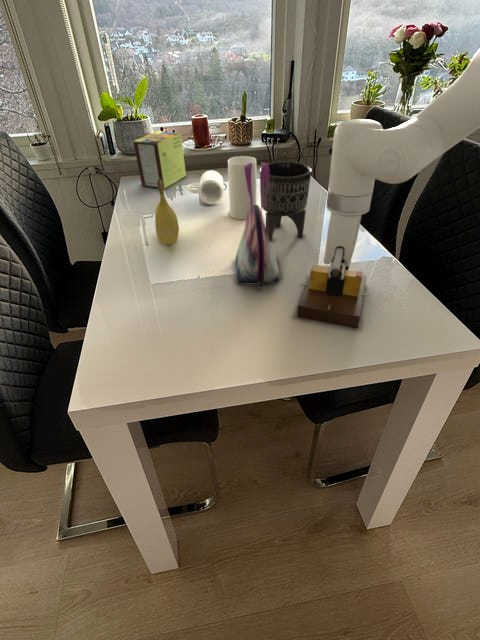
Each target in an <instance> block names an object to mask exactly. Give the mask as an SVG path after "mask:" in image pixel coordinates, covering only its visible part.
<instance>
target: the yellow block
mask: <svg viewBox="0 0 480 640" xmlns="http://www.w3.org/2000/svg"><path fill="white" fill-rule="evenodd" d="M311 269H312V270H310V272H311V276H310V285H309V289H314V290H320V291H326V285H327V277H328V276H329V270H330V266H325V265H324V266H323V265H317V264H313V265H312V267H311ZM340 271H341V273H342V269H340ZM362 275H364V272H363V271H362V270H351V269H348V270H345V273H344V278H345V282H344V288H343V294H344V295H350V296H356V297H358V295H359V290H360V285H361V281H362Z"/></svg>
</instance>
